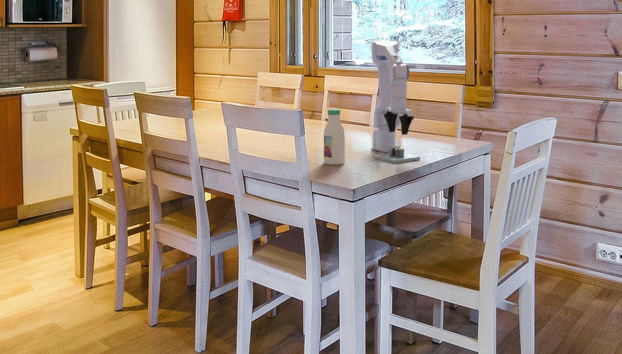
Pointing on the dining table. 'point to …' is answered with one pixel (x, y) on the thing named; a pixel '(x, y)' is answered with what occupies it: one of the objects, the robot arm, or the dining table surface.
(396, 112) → the robot arm
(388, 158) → the stand
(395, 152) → the split ring
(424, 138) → the dining table surface
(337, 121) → the milk bottle
